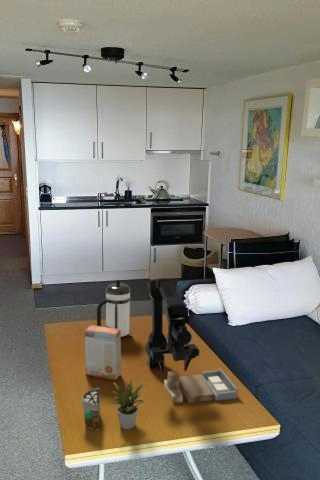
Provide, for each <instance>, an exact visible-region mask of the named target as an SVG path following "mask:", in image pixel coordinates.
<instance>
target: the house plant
mask: <svg viewBox="0 0 320 480" xmlns="http://www.w3.org/2000/svg"><path fill="white" fill-rule="evenodd" d="M123 382H124V387H125V394H126V396H125V395H124V394H123V391H122V388H121V387H120V386H119V385H118V384H117V383H116V382H115V381H113V382H112V383H113V384H114V386H115V388H116V390H117V392H116V391H114V390H112V392H113V393H114V394H115V395H116V396H114V399H115V400H114V401H112V402H111V403H110V405H119V406H118V407H117V408H116V409H117V414H118V423H119V426H121V427H122V428H121V427H120V428H121V429H123V428H124V429H123V430H126V429H129V430H131V429H130V428H132V429H134V428H135V426H136V420H137V417H138V412H139V411H138V410H139V409H138V405H140V404H142V403H143V404H144V403H145V404H146V401H144V400H143V399H138V398H140V397H144V395H140V393H143V392H148V390H145V389H142V388H143V387H144V385H145V384H147V381H145V382H143V383H142V384H140V385H138V386H135V387H133V378H131V379H130V380H129V382H128V385H127V384H126V383H125V381H123ZM134 389H135V390H134ZM141 389H142V390H141ZM133 390H134V392H133ZM136 403H137V404H136ZM135 404H136V405H135ZM133 427H134V428H133Z"/></svg>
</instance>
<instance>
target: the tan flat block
mask: <svg viewBox="0 0 320 480" xmlns="http://www.w3.org/2000/svg"><path fill="white" fill-rule="evenodd" d="M179 389H180V391H181V393H182V395H184V397H185V398H186V400H187V402H188V403H189V404H193V403H200V402H201V403H202V402H208V401H209V402H210V401H215V400H214V394H213V392H212V391H211V389H210V388H209V387H208V385H207V384H206V382H205V381H204V380H203V378H202V377H201V375H200V374H193V375H185V376H179Z"/></svg>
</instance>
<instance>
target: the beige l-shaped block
mask: <svg viewBox="0 0 320 480" xmlns="http://www.w3.org/2000/svg"><path fill="white" fill-rule="evenodd" d="M179 377H181V376H180V373H179V371H178V370H175V371H174V370H173V371H167V379H164V380H163V388H164V389H165V391H166V393H167V395H168V397H169V399H170V401H171V403H172V404H175V403H183V400H184V396H183V395H184V394H183V392H182V390H181V388H180V387H179Z"/></svg>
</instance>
